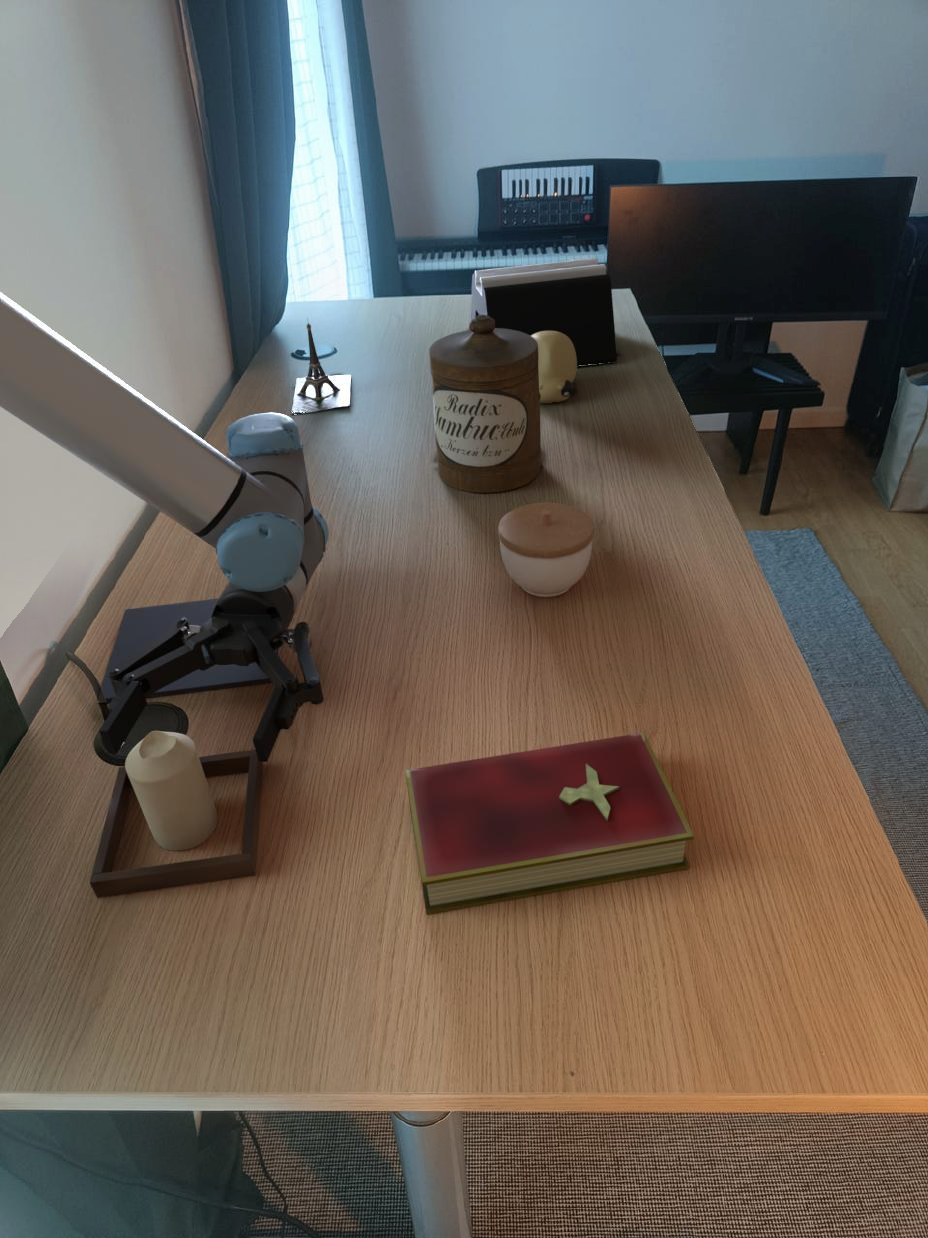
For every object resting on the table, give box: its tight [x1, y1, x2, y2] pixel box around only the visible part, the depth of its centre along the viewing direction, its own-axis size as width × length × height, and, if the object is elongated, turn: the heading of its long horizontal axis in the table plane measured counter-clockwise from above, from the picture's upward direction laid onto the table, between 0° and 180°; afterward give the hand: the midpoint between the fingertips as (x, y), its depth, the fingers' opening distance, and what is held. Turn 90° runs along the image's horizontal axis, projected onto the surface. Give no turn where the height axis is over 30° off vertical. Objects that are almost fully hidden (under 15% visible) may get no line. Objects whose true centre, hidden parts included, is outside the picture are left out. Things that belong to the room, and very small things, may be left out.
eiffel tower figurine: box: [291, 317, 352, 414], centre depth 148 cm, size 15×10×13 cm
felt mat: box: [100, 597, 279, 704], centre depth 96 cm, size 18×16×1 cm
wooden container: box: [428, 315, 542, 494], centre depth 119 cm, size 15×15×22 cm
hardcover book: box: [404, 732, 695, 915], centre depth 71 cm, size 12×21×4 cm, turn 99°
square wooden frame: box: [89, 749, 264, 899], centre depth 75 cm, size 13×13×2 cm
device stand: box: [470, 257, 618, 366], centre depth 159 cm, size 22×22×15 cm
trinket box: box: [497, 501, 595, 598], centre depth 99 cm, size 11×11×9 cm
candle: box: [124, 730, 219, 852], centre depth 72 cm, size 6×6×10 cm
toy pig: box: [531, 331, 578, 404], centre depth 144 cm, size 10×12×11 cm
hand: (182, 747), depth 74 cm, fingers open, 13 cm apart
